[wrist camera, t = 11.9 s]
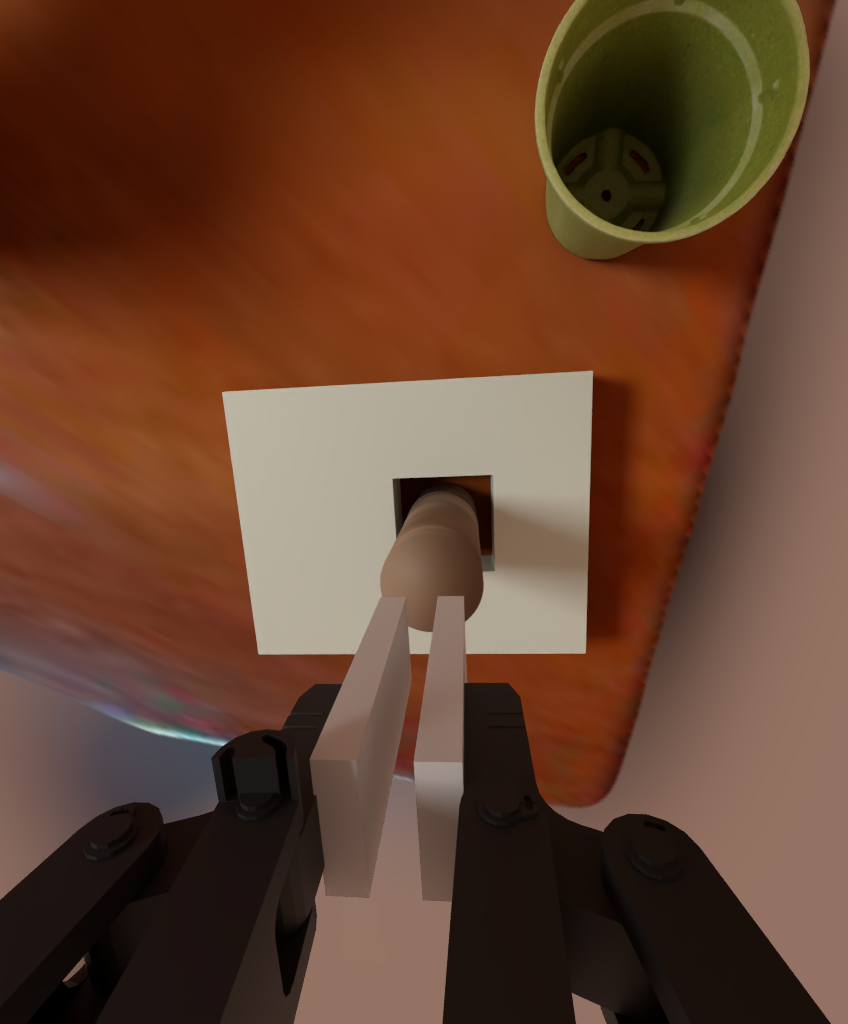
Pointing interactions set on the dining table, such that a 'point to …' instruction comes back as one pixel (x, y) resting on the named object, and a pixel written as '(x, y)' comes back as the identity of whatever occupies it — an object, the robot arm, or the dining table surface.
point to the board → (378, 509)
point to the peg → (436, 555)
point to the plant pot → (665, 115)
